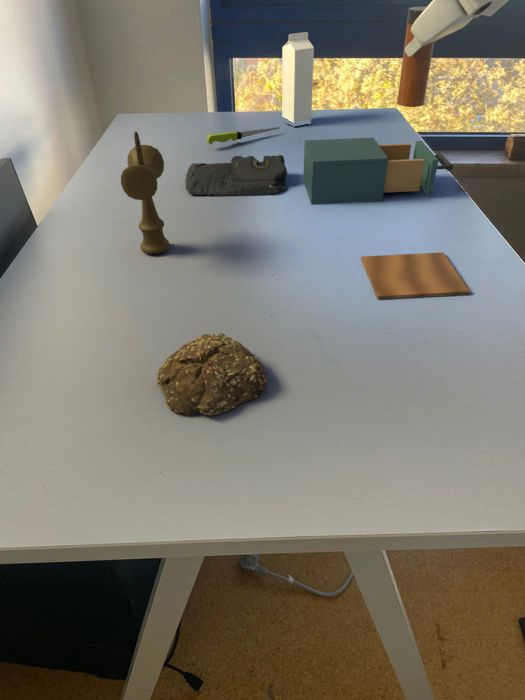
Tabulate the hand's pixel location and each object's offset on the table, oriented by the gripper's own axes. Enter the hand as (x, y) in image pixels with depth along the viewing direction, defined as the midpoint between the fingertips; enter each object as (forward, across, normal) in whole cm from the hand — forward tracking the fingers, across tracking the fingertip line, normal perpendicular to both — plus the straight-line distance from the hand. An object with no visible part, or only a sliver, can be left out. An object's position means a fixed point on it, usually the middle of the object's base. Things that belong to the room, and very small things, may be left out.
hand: (414, 49), depth 92 cm
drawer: (+17, -2, +18) cm, 25 cm away
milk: (+49, -30, -12) cm, 58 cm away
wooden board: (+7, +30, +30) cm, 43 cm away
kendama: (+36, +46, 0) cm, 58 cm away
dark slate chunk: (+40, +14, -4) cm, 43 cm away
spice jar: (+6, 0, +7) cm, 9 cm away
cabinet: (+25, +6, +12) cm, 28 cm away
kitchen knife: (+51, -9, -14) cm, 53 cm away
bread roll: (+15, +67, +21) cm, 72 cm away
